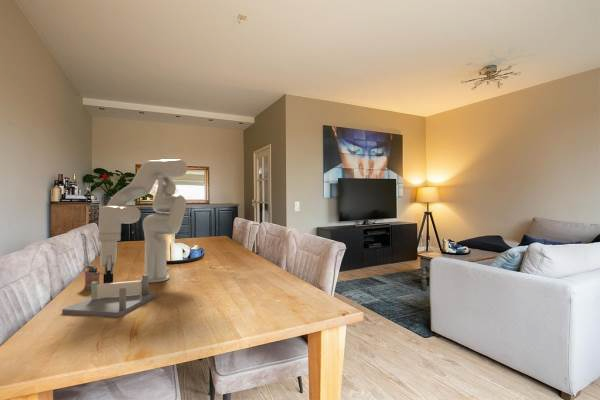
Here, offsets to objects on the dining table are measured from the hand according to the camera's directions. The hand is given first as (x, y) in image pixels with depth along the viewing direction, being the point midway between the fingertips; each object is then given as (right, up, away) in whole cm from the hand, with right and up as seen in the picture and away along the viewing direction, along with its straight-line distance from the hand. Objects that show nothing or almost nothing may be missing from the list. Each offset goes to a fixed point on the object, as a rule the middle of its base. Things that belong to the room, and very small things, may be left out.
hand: (108, 283), depth 119 cm
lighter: (-15, -6, +12) cm, 20 cm away
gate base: (+6, -6, -7) cm, 11 cm away
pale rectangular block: (+5, -4, -3) cm, 7 cm away
